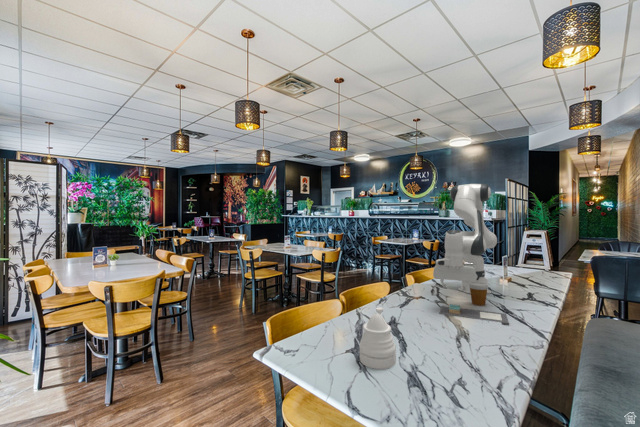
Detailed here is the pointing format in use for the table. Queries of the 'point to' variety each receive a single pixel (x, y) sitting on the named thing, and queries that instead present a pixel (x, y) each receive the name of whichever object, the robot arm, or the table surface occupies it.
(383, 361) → the honey pot
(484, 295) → the disposable coffee cup
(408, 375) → the table surface
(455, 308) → the teal flat block
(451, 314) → the rubber mat
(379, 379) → the table surface
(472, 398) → the table surface
